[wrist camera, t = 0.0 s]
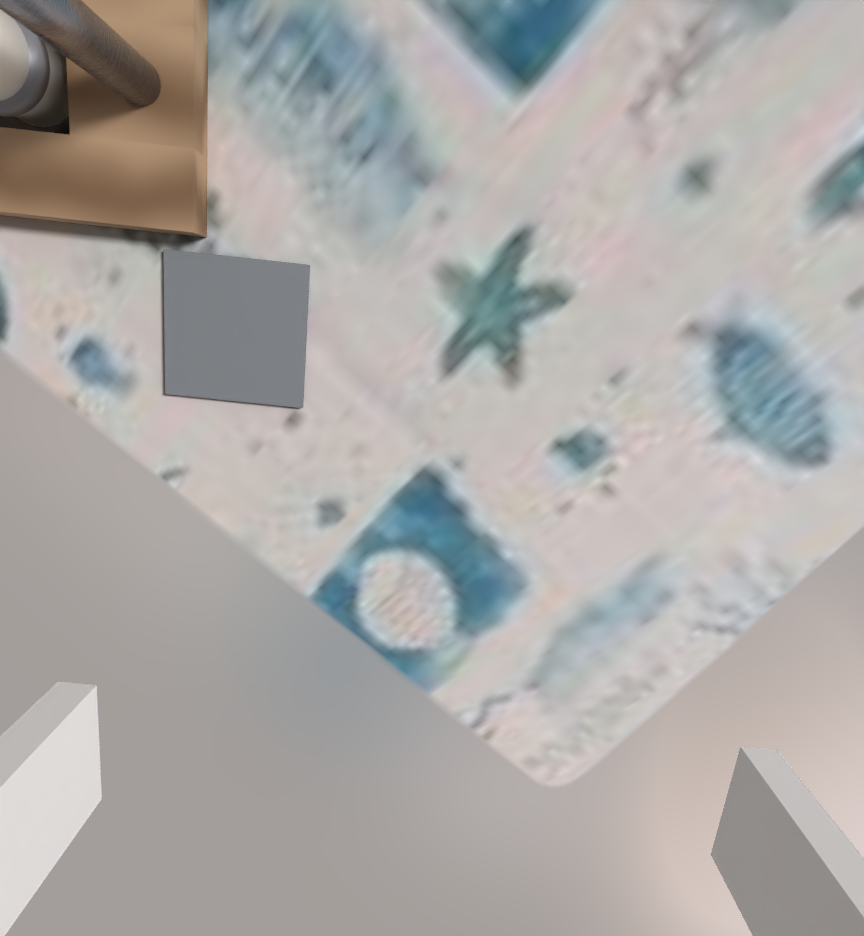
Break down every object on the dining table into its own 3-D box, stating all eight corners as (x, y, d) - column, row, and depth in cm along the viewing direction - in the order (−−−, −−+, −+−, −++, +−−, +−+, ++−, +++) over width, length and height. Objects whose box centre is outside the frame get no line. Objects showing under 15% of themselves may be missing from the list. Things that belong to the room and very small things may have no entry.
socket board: (-89, -171, 31) (-125, -204, 29) (208, -135, 31) (193, -166, 29) (-53, 209, 35) (-82, 202, 33) (206, 237, 36) (193, 232, 34)
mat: (166, 250, 36) (163, 249, 35) (309, 265, 36) (308, 264, 35) (167, 393, 38) (164, 393, 38) (303, 407, 38) (301, 408, 38)
